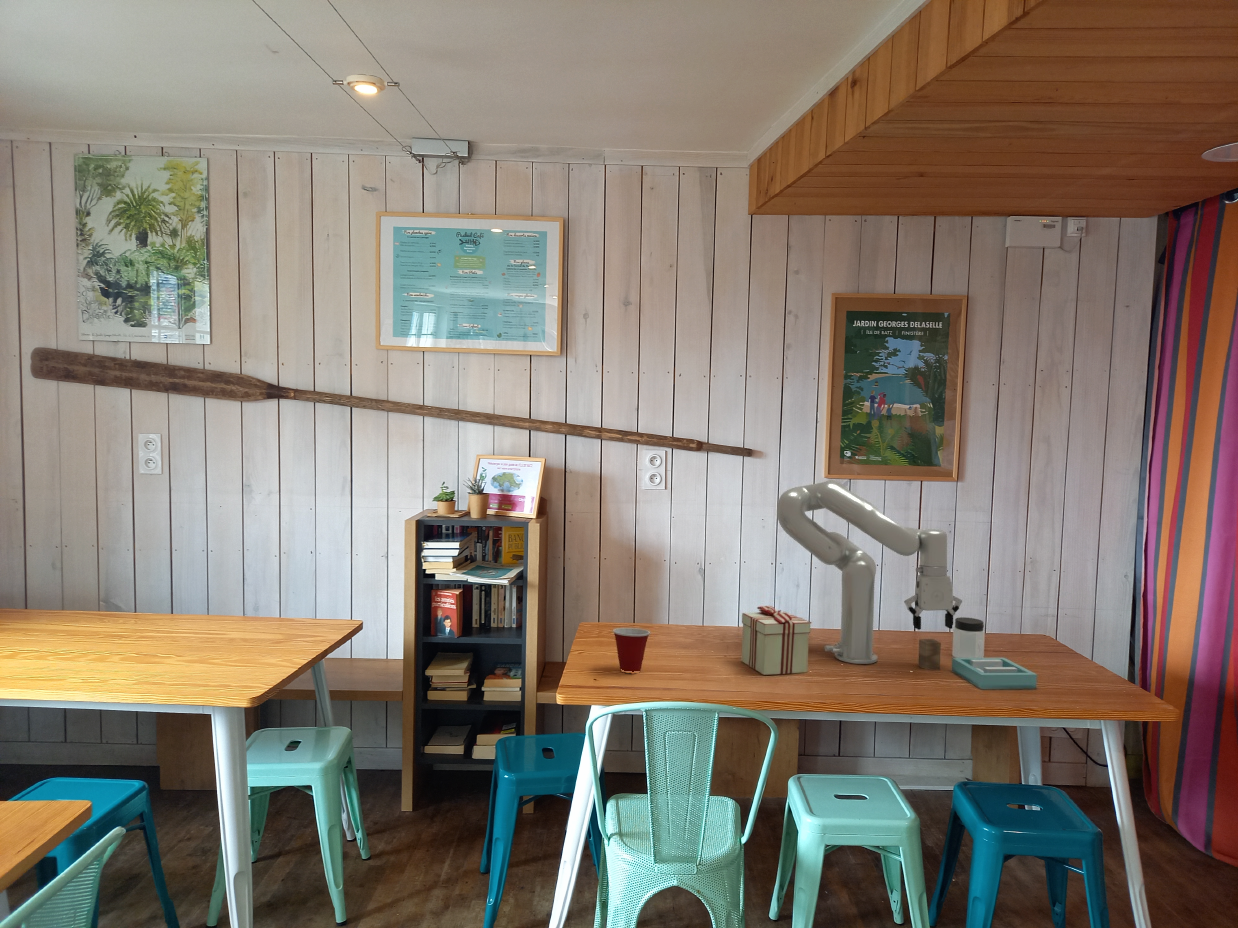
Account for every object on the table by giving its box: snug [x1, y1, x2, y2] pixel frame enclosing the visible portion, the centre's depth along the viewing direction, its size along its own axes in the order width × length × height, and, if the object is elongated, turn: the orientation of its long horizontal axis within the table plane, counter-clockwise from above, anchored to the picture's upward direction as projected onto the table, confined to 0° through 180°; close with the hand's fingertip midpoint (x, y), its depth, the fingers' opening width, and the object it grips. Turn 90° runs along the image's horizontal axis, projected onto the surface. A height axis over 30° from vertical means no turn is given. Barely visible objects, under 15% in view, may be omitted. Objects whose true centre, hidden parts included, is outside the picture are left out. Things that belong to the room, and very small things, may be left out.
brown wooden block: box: [917, 638, 942, 671], centre depth 235 cm, size 4×4×8 cm
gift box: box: [740, 605, 812, 676], centre depth 233 cm, size 17×18×17 cm
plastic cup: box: [612, 627, 651, 672], centre depth 226 cm, size 11×11×12 cm
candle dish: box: [951, 657, 1038, 690], centre depth 224 cm, size 16×16×4 cm
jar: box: [951, 616, 986, 658], centre depth 245 cm, size 9×8×12 cm
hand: (933, 628), depth 234 cm, fingers open, 9 cm apart
